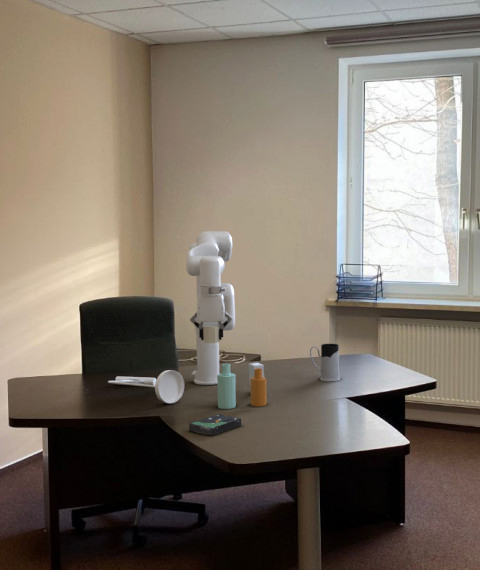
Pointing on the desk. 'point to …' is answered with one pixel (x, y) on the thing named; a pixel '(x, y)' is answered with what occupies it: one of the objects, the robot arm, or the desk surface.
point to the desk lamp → (158, 385)
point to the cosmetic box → (251, 370)
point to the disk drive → (214, 424)
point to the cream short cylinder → (211, 333)
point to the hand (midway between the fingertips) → (211, 339)
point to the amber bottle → (258, 388)
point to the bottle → (226, 388)
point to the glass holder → (328, 362)
